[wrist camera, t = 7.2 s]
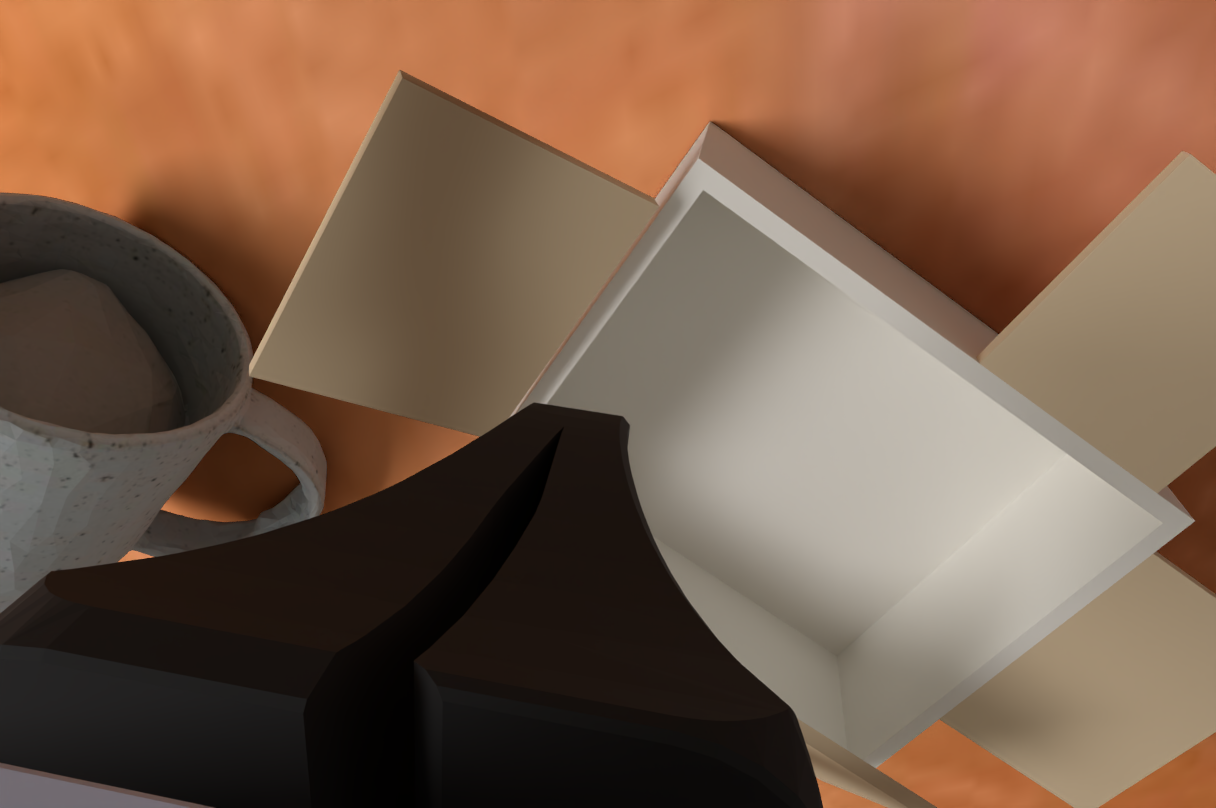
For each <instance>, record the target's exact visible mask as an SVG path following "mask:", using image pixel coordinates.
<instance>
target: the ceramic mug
mask: <svg viewBox="0 0 1216 808" xmlns="http://www.w3.org/2000/svg"><path fill="white" fill-rule="evenodd" d="M252 358H253V352H252V346H251V342H250V338H249V335H248V333H247V331H246V329H245V327H244V324H243V323H242V321H241V319H240V317H239V315H238V314H237V312H236V310H235V308H234V307H233V305H232V304H231V303H230V301H229V300H228V299H227V298H226V297H225V295H224V294H223V293H222V292H221V291H220V290H219V288H218V287H217V286H216V285H215V283H214V282H212V281H211V280H210V279H209V278H208V277H207V276H206V275H205V274H204V273H203V272H202V271H201V270H199V269H198V268H197V267H196V266H195V265H194V264H193V263H192V262H190V261H189V260H188V259H187V258H185V257H184V256H182V255H181V254H180V253H178V252H177V251H176V250H174V249H173V248H172V247H170V246H169V245H167V244H165V243H163V242H162V241H160V240H159V239H158V238H156V237H155V236H153V235H151V234H149V233H147V232H145V231H143V230H141V229H139V228H137V227H135V226H133V225H131V224H129V223H127V222H125V221H123V220H121V219H119V218H117V217H115V216H112V215H109V214H106V213H103V212H100V211H97V210H94V209H91V208H88V207H85V206H83V205H80V204H77V203H73V202H69V201H65V200H61V199H57V198H52V197H46V196H39V195H31V194H17V193H0V613H1V612H2V611H4V610H5V609H6V608H7V607H8V606H10V605H11V604H12V603H13V602H14V601H16V600H17V599H18V598H19V597H20V596H21V595H23V594H24V593H25V592H26V591H27V590H29V589H30V588H31V587H32V586H33V585H35V584H36V583H37V582H38V581H39V580H41V579H42V578H43V577H44V576H46V575H47V574H48V573H49V572H51V571H57V570H66V569H75V568H82V567H89V566H96V565H103V564H111V563H117V562H118V561H119V560H120V559H121V558H123V557H124V556H125V555H126V554H127V553H128V552H129V551H131V550H135V551H138V552H142V553H145V554H148V555H151V556H154V557H158V556H164V555H170V554H175V553H180V552H185V551H190V550H195V549H199V548H204V547H209V546H214V545H218V544H222V543H227V542H231V541H235V540H239V539H243V538H247V537H251V536H255V535H259V534H262V533H265V532H269V531H272V530H275V529H278V528H281V527H284V526H288V525H291V524H294V523H297V522H300V521H303V520H307V519H310V518H313V517H316V516H319V515H320V514H321V512H322V510H323V508H324V500H325V489H326V476H327V461H326V459H325V456H324V453H323V450H322V447H321V445H320V442H319V440H318V439H317V438H316V436H315V435H314V433H313V431H312V430H311V428H309V427H308V426H307V425H306V424H305V423H304V422H303V421H302V420H301V419H300V418H298V417H297V416H296V415H294V414H293V413H291V412H290V411H289V410H287V409H286V408H284V407H283V406H281V405H280V404H279V403H277V402H276V401H274V400H273V399H271V398H270V397H268V396H266V395H264V394H262V393H261V392H259V391H257V390H255V389H253V388H251V386H252V381H253V377H250V376H249V364H250V362H251V360H252ZM225 433H235V434H239V435H242V436H245V437H248V438H249V439H251V440H252V441H254V442H255V443H257V444H258V445H259V446H260V447H262V448H263V449H265V450H266V451H268V452H269V453H271V454H272V455H274V456H275V457H276V458H278V459H279V460H281V461H282V462H283V463H284V464H285V465H287V466H288V467H289V468H290V469H291V470H293V472H294V473H295V474H296V476H297V477H298V479H299V481H300V484H299V485H298V486H297V487H296V488H295V489H294V490H293V491H292V492H291V493H290V494H289V495H288V496H287V497H286V498H285V499H284V500H283V501H281V502H280V503H279V504H277V505H276V506H275V507H273V508H271V509H269V510H266V511H263V512H261V514H260V515H259V517H258V518H257V519H254V520H250V521H237V522H216V521H209V520H199V519H194V518H189V517H185V516H183V515H177V514H174V513H171V512H167V511H163V510H160V509H161V508H162V507H163V505H164V504H165V503H166V501H167V500H168V499H169V498H170V496H171V495H172V494H173V493H174V492H175V491H176V490H177V489H178V488H179V487H180V485H181V484H182V483H183V482H184V481H185V480H186V479H187V477H188V476H189V475H190V474H191V472H192V471H193V470H194V469H195V467H196V466H197V465H198V464H199V462H200V461H201V460H202V458H203V457H204V456H205V454H206V453H207V452H208V451H209V450H210V448H211V447H212V446H213V445H214V444H215V443H216V442H217V440H218V439H219V438H220V437H221V436H222V435H223V434H225Z"/></svg>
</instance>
